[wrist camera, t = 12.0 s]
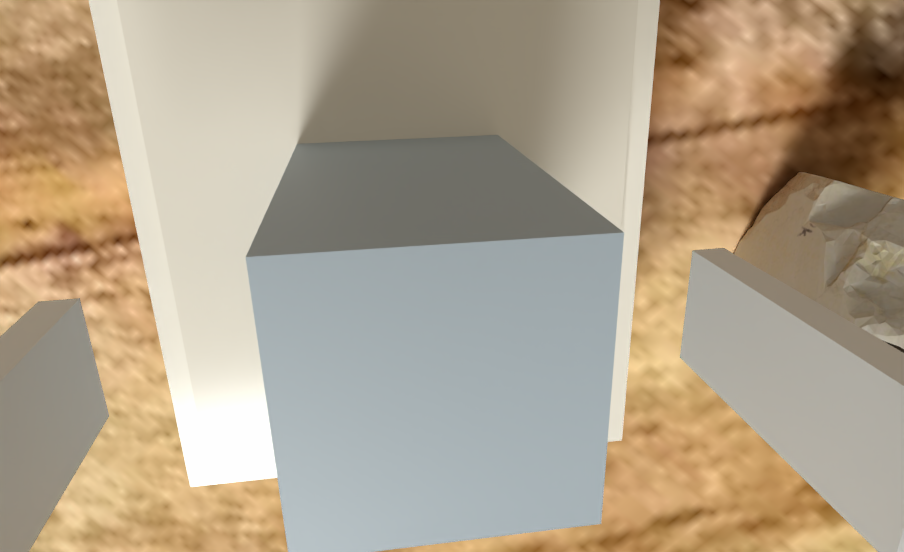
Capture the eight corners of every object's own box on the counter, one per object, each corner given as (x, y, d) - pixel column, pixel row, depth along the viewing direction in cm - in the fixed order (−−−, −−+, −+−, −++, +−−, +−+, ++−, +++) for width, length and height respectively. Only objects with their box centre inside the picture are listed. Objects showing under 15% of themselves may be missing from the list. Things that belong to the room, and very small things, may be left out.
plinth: (221, 397, 29) (188, 492, 23) (141, -61, 22) (65, -91, 16) (573, 364, 31) (624, 444, 25) (595, -65, 24) (672, -93, 18)
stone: (765, 158, 28) (1015, 237, 18) (861, 184, 29) (1150, 273, 19) (680, 363, 32) (847, 535, 21) (769, 379, 33) (972, 551, 22)
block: (316, 328, 21) (289, 561, 12) (296, 143, 19) (245, 257, 10) (496, 313, 22) (600, 523, 13) (497, 134, 20) (624, 232, 11)
